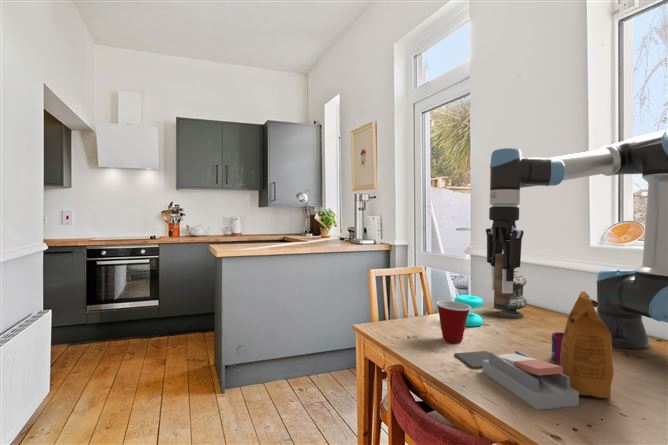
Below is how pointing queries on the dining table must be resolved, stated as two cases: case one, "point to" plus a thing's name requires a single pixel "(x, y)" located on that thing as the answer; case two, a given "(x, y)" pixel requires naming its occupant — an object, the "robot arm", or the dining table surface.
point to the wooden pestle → (500, 285)
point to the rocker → (532, 365)
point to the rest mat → (473, 358)
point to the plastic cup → (452, 320)
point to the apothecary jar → (516, 297)
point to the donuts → (473, 302)
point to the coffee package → (587, 350)
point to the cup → (556, 345)
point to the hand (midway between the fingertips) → (501, 291)
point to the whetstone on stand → (532, 384)
